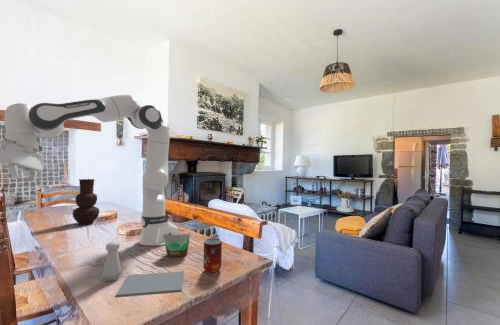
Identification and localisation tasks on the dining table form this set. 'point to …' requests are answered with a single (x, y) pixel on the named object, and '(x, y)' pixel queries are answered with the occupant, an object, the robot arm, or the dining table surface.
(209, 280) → the dining table surface
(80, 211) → the vase
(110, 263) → the salt shaker
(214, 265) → the soda can
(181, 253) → the food container
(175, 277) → the mat
